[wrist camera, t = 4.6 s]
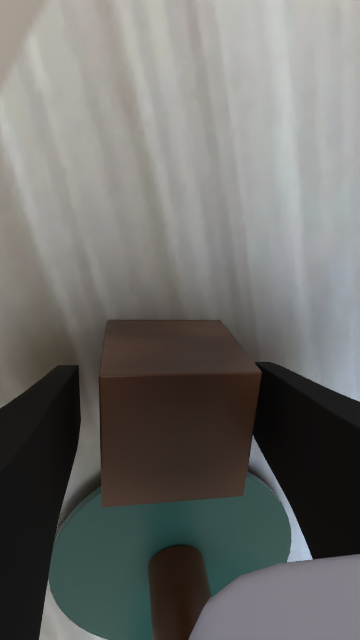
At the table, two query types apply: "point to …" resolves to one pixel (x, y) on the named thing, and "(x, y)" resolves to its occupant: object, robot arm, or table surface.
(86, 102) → the table surface
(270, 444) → the robot arm
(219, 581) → the lid
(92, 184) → the table surface
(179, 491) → the block
